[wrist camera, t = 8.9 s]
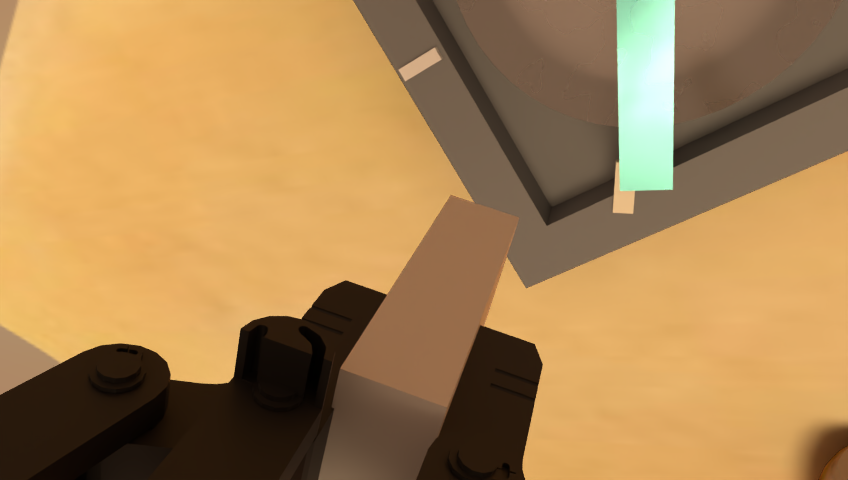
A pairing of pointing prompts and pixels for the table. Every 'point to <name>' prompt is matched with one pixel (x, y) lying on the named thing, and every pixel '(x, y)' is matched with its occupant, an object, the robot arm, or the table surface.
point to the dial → (643, 61)
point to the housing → (601, 139)
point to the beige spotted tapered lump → (837, 467)
